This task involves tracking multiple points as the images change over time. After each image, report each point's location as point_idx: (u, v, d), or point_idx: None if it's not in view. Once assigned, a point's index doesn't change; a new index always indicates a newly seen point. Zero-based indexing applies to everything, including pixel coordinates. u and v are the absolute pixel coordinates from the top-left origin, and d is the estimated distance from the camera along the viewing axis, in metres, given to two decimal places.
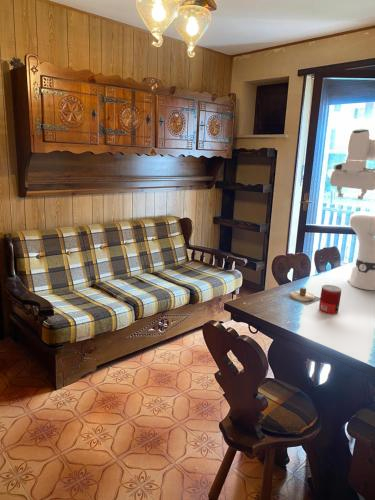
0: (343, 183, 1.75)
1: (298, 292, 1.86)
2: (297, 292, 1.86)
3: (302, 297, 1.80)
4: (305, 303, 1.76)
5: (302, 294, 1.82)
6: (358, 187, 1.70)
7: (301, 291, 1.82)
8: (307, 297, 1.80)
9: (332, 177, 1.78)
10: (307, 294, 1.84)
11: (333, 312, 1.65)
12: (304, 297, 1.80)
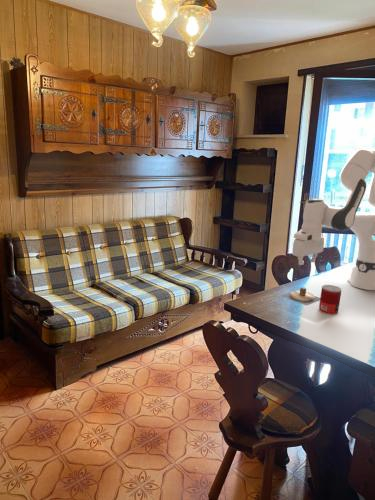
0: (307, 251, 1.74)
1: (298, 292, 1.86)
2: (297, 292, 1.86)
3: (302, 297, 1.80)
4: (305, 303, 1.76)
5: (302, 294, 1.82)
6: (316, 252, 1.79)
7: (301, 291, 1.82)
8: (307, 297, 1.80)
9: (302, 248, 1.70)
10: (307, 294, 1.84)
11: (333, 312, 1.65)
12: (304, 297, 1.80)
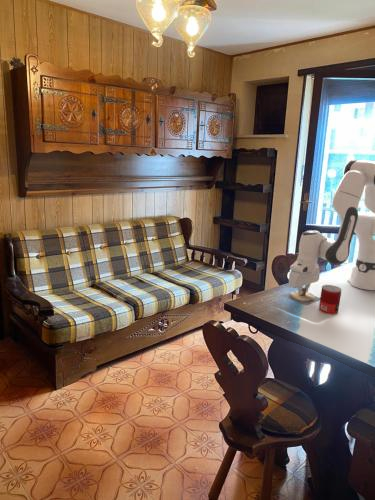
0: (303, 282, 1.78)
1: None
2: (297, 292, 1.86)
3: (302, 297, 1.80)
4: (305, 303, 1.76)
5: (302, 294, 1.82)
6: (312, 282, 1.83)
7: None
8: (307, 297, 1.80)
9: (297, 280, 1.74)
10: (307, 294, 1.84)
11: (333, 312, 1.65)
12: (304, 297, 1.80)
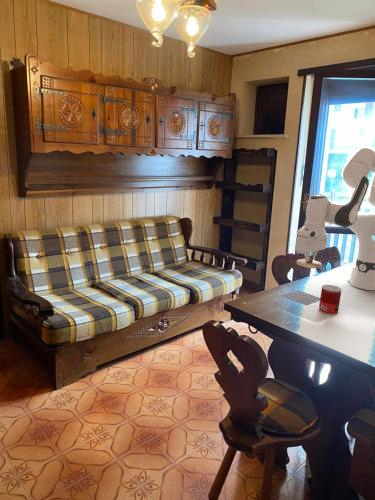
0: (310, 248, 1.72)
1: None
2: (304, 260, 1.81)
3: (309, 264, 1.74)
4: (305, 303, 1.76)
5: (309, 261, 1.76)
6: (319, 249, 1.77)
7: None
8: (314, 264, 1.75)
9: (304, 245, 1.68)
10: (314, 262, 1.79)
11: (333, 312, 1.65)
12: (311, 264, 1.74)
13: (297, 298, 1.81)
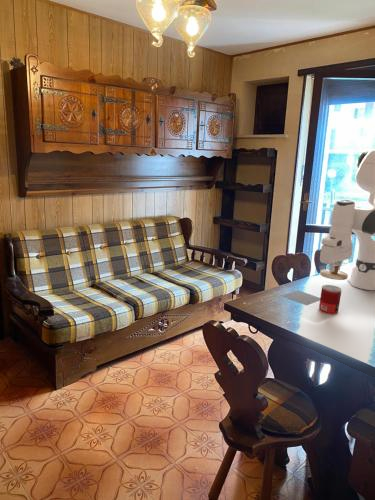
0: (336, 258, 1.59)
1: None
2: (327, 270, 1.68)
3: (334, 275, 1.61)
4: (305, 303, 1.76)
5: (334, 272, 1.63)
6: (344, 258, 1.64)
7: None
8: (340, 275, 1.62)
9: (330, 255, 1.55)
10: (339, 272, 1.66)
11: (333, 312, 1.65)
12: (337, 275, 1.62)
13: (297, 298, 1.81)
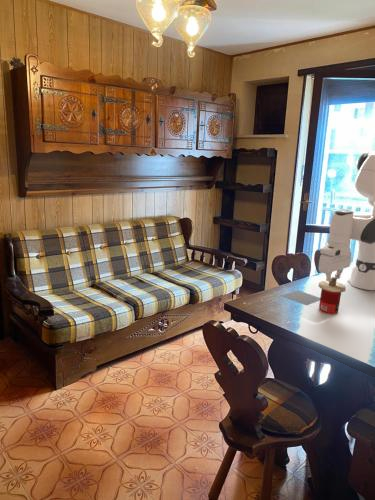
0: (335, 267, 1.60)
1: (327, 282, 1.69)
2: (326, 282, 1.69)
3: (333, 287, 1.63)
4: (305, 303, 1.76)
5: (332, 284, 1.65)
6: (343, 267, 1.65)
7: (331, 281, 1.65)
8: (338, 287, 1.63)
9: (329, 264, 1.56)
10: (337, 284, 1.67)
11: (333, 312, 1.65)
12: (335, 287, 1.63)
13: (297, 298, 1.81)
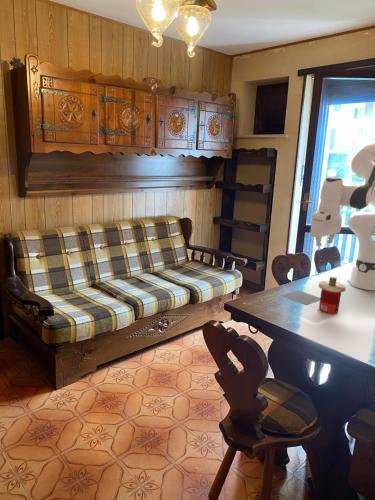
0: (325, 232, 1.69)
1: (327, 282, 1.69)
2: (325, 282, 1.69)
3: (333, 287, 1.63)
4: (305, 303, 1.76)
5: (332, 284, 1.65)
6: (334, 232, 1.74)
7: (331, 281, 1.65)
8: (338, 287, 1.63)
9: (320, 229, 1.64)
10: (337, 284, 1.67)
11: (333, 312, 1.65)
12: (335, 287, 1.63)
13: (297, 298, 1.81)
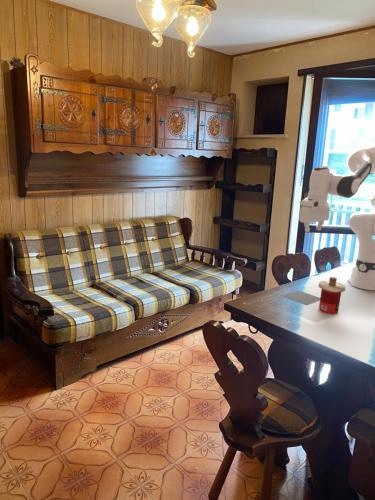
0: (314, 218, 1.79)
1: (327, 282, 1.69)
2: (325, 282, 1.69)
3: (333, 287, 1.63)
4: (305, 303, 1.76)
5: (332, 284, 1.65)
6: (322, 219, 1.84)
7: (331, 281, 1.65)
8: (338, 287, 1.63)
9: (308, 214, 1.74)
10: (337, 284, 1.67)
11: (333, 312, 1.65)
12: (335, 287, 1.63)
13: (297, 298, 1.81)
